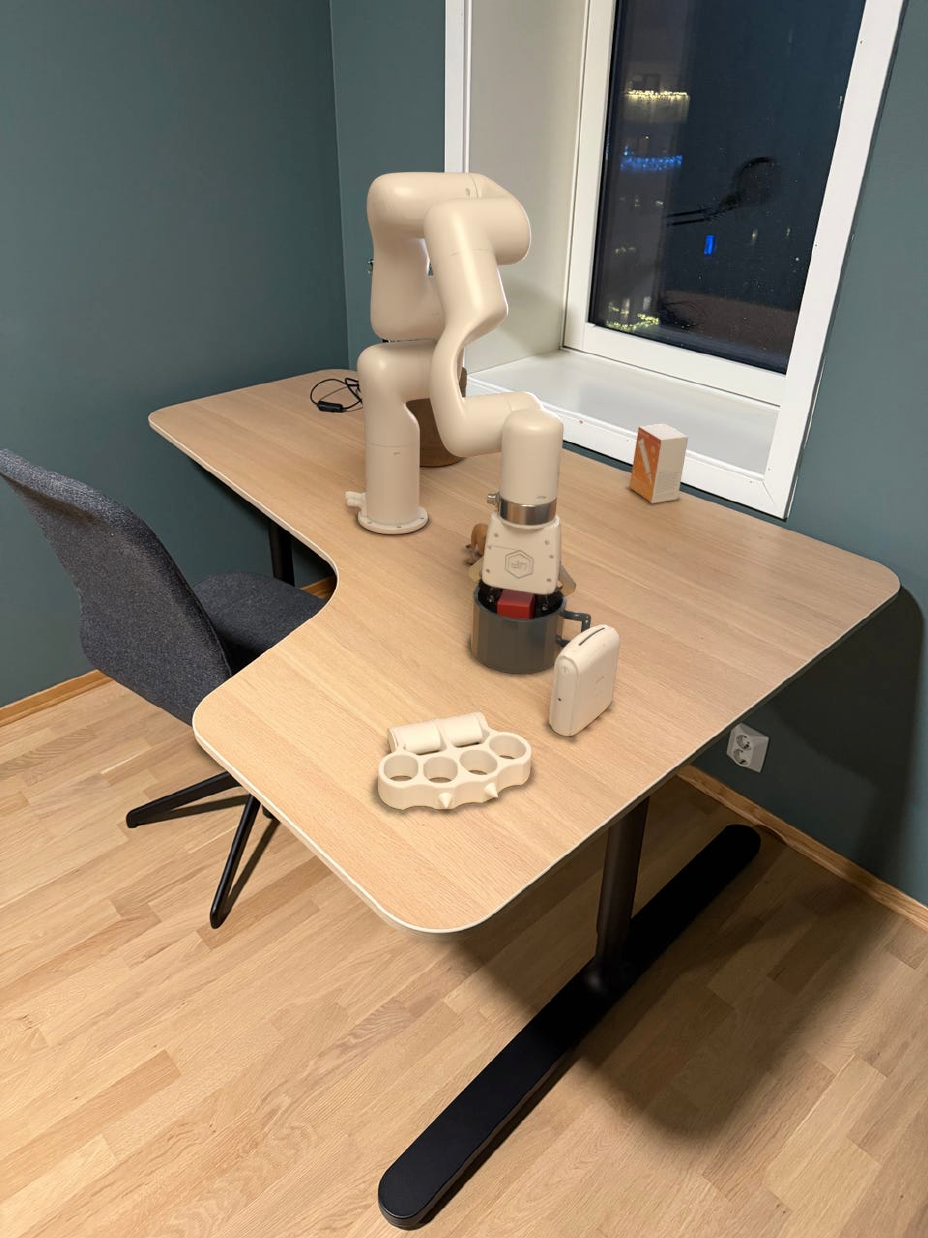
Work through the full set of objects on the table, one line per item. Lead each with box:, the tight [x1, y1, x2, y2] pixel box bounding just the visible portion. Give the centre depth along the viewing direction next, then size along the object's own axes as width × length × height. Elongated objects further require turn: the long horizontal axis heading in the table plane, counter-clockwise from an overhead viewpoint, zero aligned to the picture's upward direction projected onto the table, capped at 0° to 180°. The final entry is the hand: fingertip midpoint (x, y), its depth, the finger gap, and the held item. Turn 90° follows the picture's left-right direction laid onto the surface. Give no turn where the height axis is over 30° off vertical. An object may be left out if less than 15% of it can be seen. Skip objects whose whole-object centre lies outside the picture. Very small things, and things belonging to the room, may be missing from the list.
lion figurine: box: [464, 522, 489, 571], centre depth 143 cm, size 15×5×9 cm, turn 28°
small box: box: [629, 423, 689, 504], centre depth 171 cm, size 8×6×13 cm
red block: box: [497, 589, 535, 619], centre depth 123 cm, size 4×4×8 cm
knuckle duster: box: [377, 710, 533, 811], centre depth 101 cm, size 3×18×15 cm
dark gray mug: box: [470, 585, 592, 675], centre depth 122 cm, size 16×13×8 cm
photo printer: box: [548, 624, 621, 737], centre depth 109 cm, size 10×4×12 cm, turn 140°
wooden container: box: [406, 366, 468, 467], centre depth 183 cm, size 15×15×22 cm
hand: (517, 624), depth 123 cm, fingers open, 5 cm apart
